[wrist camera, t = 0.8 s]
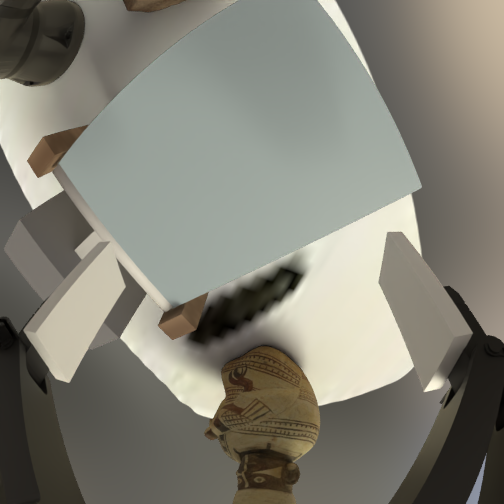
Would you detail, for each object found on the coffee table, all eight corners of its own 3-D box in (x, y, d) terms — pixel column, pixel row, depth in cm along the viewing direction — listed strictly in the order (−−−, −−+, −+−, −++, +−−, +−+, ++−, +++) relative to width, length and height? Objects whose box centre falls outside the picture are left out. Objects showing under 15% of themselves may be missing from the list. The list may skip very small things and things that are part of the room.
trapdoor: (39, 211, 27) (-2, 241, 21) (293, -8, 14) (292, -47, 8) (123, 314, 32) (97, 356, 27) (403, 171, 20) (440, 204, 14)
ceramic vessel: (200, 345, 53) (161, 494, 27) (314, 337, 50) (326, 502, 24) (224, 399, 62) (205, 517, 36) (316, 394, 59) (322, 519, 33)
